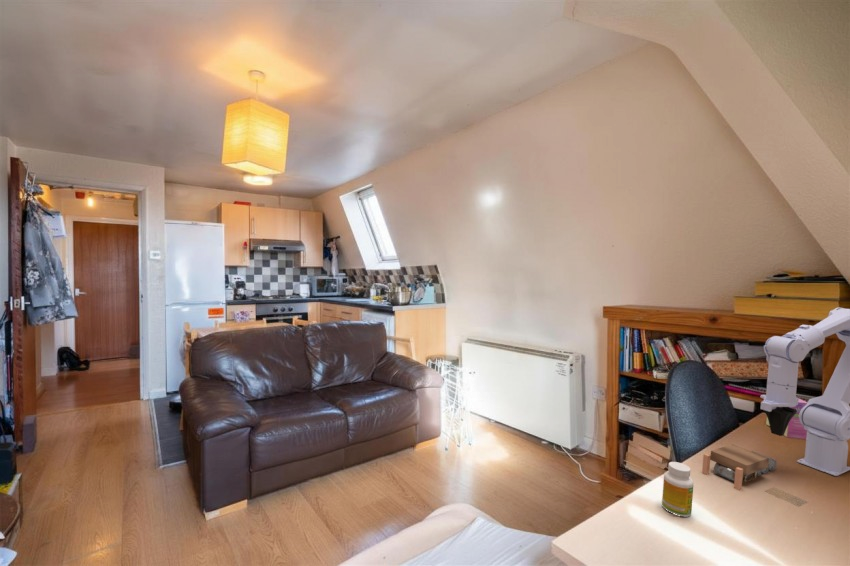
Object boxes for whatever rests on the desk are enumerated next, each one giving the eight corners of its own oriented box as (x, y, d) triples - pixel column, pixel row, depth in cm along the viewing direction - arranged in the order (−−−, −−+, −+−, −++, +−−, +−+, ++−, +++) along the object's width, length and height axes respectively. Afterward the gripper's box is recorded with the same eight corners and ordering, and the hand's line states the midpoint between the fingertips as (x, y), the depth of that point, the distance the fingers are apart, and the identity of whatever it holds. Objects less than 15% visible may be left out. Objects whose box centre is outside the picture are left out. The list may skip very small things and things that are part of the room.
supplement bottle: (691, 521, 82) (695, 475, 81) (661, 511, 84) (664, 467, 84) (690, 508, 86) (694, 464, 86) (662, 499, 89) (665, 457, 89)
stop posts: (704, 472, 102) (706, 453, 102) (741, 489, 94) (743, 469, 94) (702, 473, 101) (703, 454, 101) (738, 490, 94) (740, 470, 94)
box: (807, 439, 125) (811, 403, 124) (786, 437, 126) (789, 401, 125) (784, 426, 135) (787, 392, 134) (765, 424, 136) (768, 391, 135)
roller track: (752, 460, 109) (753, 449, 109) (830, 492, 95) (832, 479, 95) (712, 474, 101) (713, 462, 101) (791, 510, 87) (792, 496, 86)
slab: (731, 453, 106) (732, 444, 106) (768, 467, 99) (768, 458, 99) (710, 459, 102) (710, 450, 102) (746, 475, 95) (747, 465, 95)
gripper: (777, 376, 109) (772, 424, 110) (748, 381, 103) (744, 432, 104) (810, 383, 103) (805, 434, 104) (782, 389, 97) (777, 443, 98)
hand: (777, 434), depth 103 cm, fingers closed
